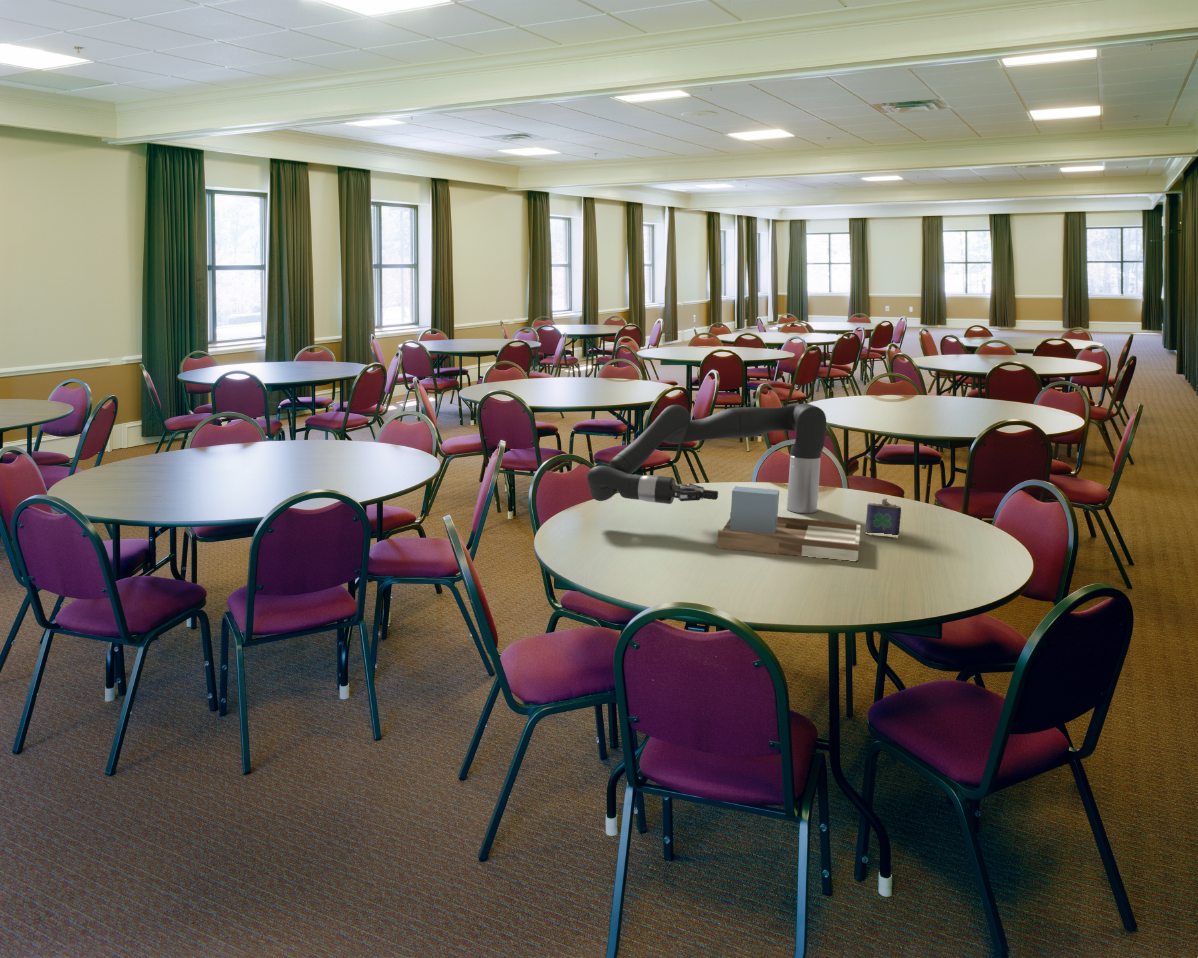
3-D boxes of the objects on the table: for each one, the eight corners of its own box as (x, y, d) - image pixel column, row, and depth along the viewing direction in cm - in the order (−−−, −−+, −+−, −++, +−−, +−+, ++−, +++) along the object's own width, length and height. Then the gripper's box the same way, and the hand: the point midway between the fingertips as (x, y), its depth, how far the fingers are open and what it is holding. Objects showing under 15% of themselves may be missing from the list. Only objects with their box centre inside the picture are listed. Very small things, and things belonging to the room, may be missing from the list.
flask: (864, 534, 252) (867, 498, 250) (865, 532, 255) (869, 495, 253) (898, 539, 249) (901, 502, 246) (899, 536, 251) (903, 499, 249)
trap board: (730, 527, 257) (730, 512, 256) (859, 539, 247) (860, 524, 246) (717, 547, 236) (718, 531, 235) (857, 562, 226) (859, 545, 225)
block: (733, 524, 248) (735, 486, 246) (776, 528, 245) (779, 489, 243) (730, 529, 243) (732, 490, 240) (774, 534, 239) (777, 494, 237)
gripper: (651, 480, 243) (714, 486, 238) (662, 471, 255) (722, 477, 250) (650, 507, 244) (712, 513, 239) (661, 497, 257) (720, 503, 252)
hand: (717, 495), depth 245 cm, fingers closed
